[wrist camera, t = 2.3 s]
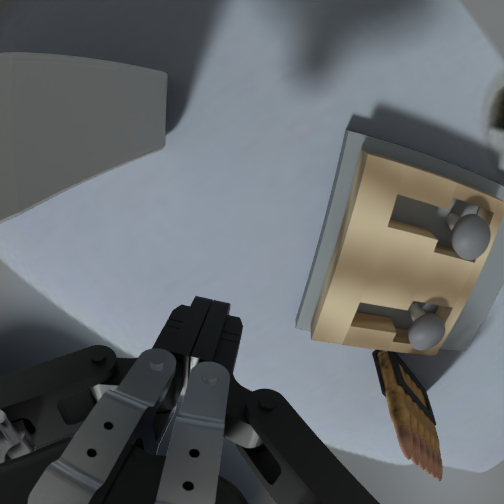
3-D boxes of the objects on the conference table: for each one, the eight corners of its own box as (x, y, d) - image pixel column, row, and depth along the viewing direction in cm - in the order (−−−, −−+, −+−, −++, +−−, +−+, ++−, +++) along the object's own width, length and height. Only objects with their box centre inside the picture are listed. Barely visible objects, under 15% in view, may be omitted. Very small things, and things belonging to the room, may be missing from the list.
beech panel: (360, 149, 19) (367, 154, 17) (493, 195, 18) (507, 203, 17) (310, 323, 25) (311, 339, 23) (428, 341, 25) (435, 355, 23)
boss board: (345, 129, 20) (360, 135, 16) (527, 197, 19) (560, 217, 15) (295, 319, 27) (294, 358, 23) (461, 343, 26) (477, 376, 22)
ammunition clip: (426, 391, 30) (451, 478, 19) (413, 399, 30) (433, 486, 20) (388, 342, 27) (416, 450, 16) (371, 352, 28) (393, 460, 17)
